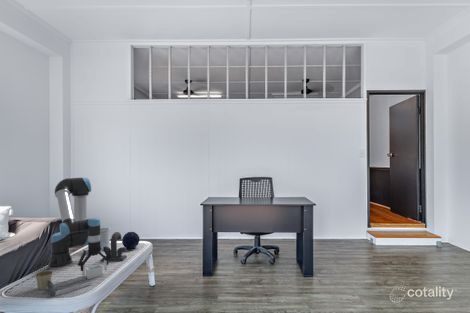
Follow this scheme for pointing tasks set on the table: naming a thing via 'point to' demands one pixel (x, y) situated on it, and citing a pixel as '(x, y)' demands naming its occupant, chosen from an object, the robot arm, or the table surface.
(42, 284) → the flower pot
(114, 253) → the faucet
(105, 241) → the utensil holder
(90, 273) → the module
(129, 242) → the decorative orb
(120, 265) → the table surface
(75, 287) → the rail
